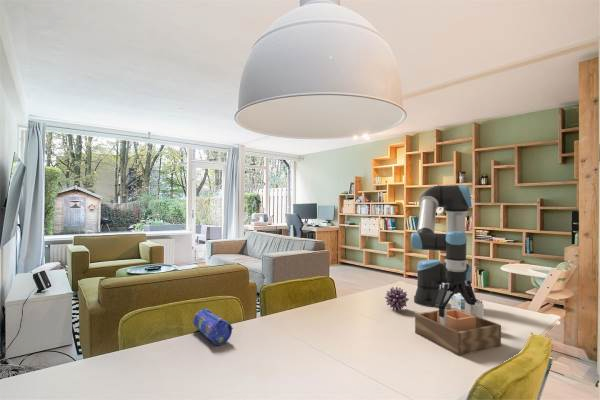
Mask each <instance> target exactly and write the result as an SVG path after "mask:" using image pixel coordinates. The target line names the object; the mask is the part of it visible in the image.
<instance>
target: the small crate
mask: <svg viewBox="0 0 600 400" xmlns="http://www.w3.org/2000/svg"><path fill="white" fill-rule="evenodd" d="M437 323H440V316H439V312H437ZM446 327H449V328H451V329H453V330H455V331H458V332H459V331H464V330H470V329H475V328H476V317H475V316H472V315H470V314H467V313H464V312H462V311H459V310H456V309H453V310H447V326H446Z"/></svg>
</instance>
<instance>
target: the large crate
mask: <svg viewBox="0 0 600 400" xmlns="http://www.w3.org/2000/svg"><path fill="white" fill-rule="evenodd" d="M446 309H447V310H453V309H456V308H446ZM456 310H458V309H456ZM459 311H461V310H459ZM437 312H439V309H437V310H432V311H426V312H425V311H424V312H417V313H415V314H414V334H416V335H419V336H420V337H421V338H424V339H426V340H428V341H430V342H431V343H433V344H434V345H437V346H439V347H440V348H443V349H444V350H447V351H448V352H451V354H455V355H456V356H458V357H460V356H463V355H464V356H465V355H468V354H471V353H477V352H481V351H485V350H490V349H494V348H498V347H499V348H500V347H502V325H501V324H499V323H496V322H493V321H490V320H488V319H486V318H484V319H483V318H480V317H477V316H475V315H472V316H475V317H476V328H475V329H470V330H464V331H459V332H458V331H455V330H453V329H451V328H449V327H446V326H444V325H442V324H440V323H437ZM462 312H464V311H462ZM464 313H465V312H464Z"/></svg>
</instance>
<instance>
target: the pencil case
mask: <svg viewBox="0 0 600 400" xmlns="http://www.w3.org/2000/svg"><path fill="white" fill-rule="evenodd" d="M192 324H193V326H194V327H195V328H196V329H197V330H198V331H199V332H200V333H202V334H203V336H205V337H206V338H207V339H208V340H210V341H211V343H213V345H216V346H219V345H220V346H222V344H223V345H224V344H225V343H227V342H228V340H230V338H231V335H232V332H233V329H234V328H233V326H232V324H231V323H230V322H229V321H227V320H225V319H223V317H219V316H217V314H214V313H213V312H212V311H211V310H210V309H207V308H202V309H200V310H199V311H196V313H194V315H193V316H192Z"/></svg>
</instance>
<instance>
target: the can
mask: <svg viewBox="0 0 600 400" xmlns="http://www.w3.org/2000/svg"><path fill="white" fill-rule="evenodd" d="M476 300H477V302H475V305H472V315H475V316H477V317H480V318H483V319H485V318H484V317H485V315H484V314H485V312H484V310H485V309H484V303H483V300H481V299H477V298H476Z"/></svg>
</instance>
